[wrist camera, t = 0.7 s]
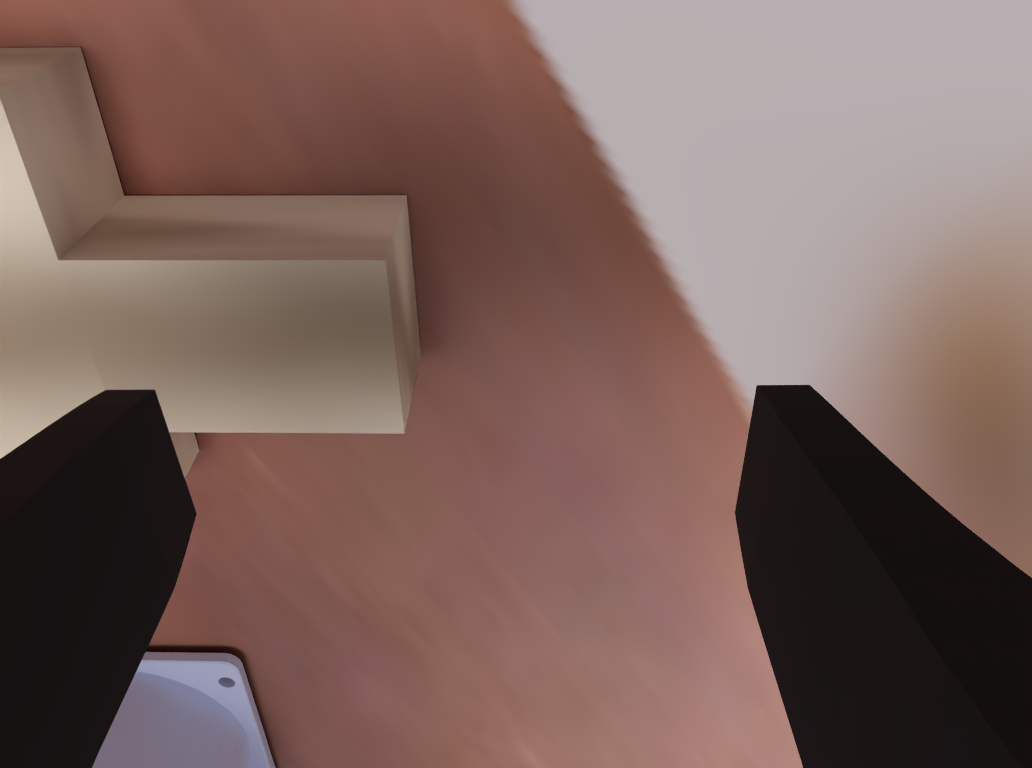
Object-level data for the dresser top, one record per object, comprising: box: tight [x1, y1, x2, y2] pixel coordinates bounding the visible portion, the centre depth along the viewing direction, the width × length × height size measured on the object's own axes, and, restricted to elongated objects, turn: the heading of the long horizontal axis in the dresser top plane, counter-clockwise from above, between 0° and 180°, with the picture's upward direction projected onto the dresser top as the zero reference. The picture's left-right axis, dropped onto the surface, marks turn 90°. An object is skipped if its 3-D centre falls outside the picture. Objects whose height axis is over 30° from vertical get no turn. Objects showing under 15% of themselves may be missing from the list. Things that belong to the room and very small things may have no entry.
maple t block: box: [0, 47, 421, 478], centre depth 18 cm, size 10×10×3 cm
